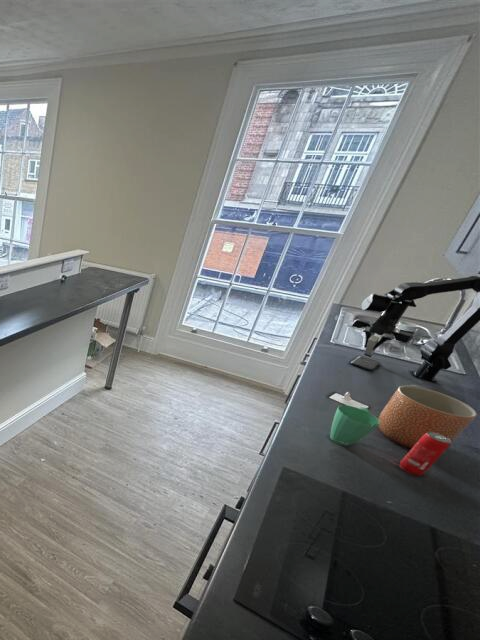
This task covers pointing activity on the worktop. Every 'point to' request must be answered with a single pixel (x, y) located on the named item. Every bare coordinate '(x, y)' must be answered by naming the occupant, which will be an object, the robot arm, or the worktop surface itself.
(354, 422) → the mug
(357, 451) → the worktop surface
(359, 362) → the smartphone
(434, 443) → the beverage can
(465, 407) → the planter
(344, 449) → the worktop surface
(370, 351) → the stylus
